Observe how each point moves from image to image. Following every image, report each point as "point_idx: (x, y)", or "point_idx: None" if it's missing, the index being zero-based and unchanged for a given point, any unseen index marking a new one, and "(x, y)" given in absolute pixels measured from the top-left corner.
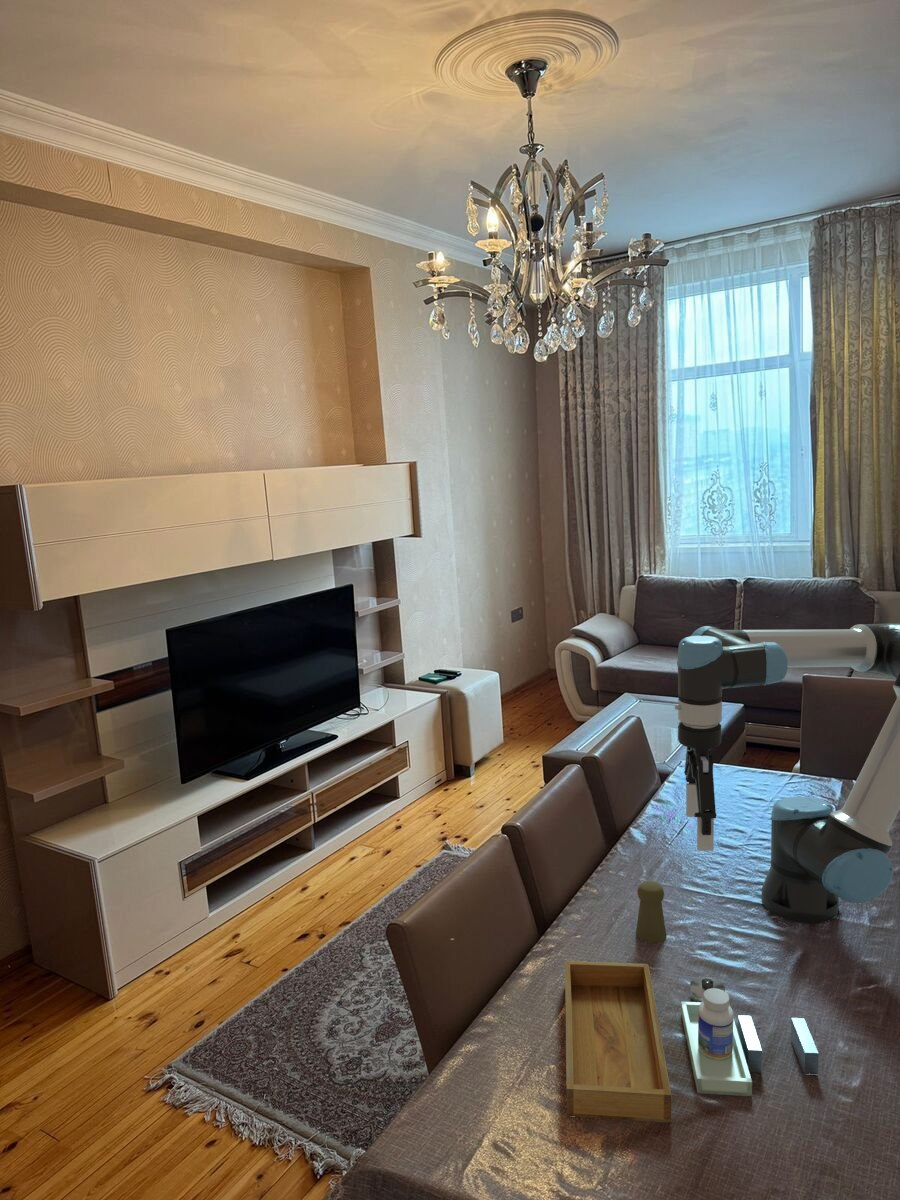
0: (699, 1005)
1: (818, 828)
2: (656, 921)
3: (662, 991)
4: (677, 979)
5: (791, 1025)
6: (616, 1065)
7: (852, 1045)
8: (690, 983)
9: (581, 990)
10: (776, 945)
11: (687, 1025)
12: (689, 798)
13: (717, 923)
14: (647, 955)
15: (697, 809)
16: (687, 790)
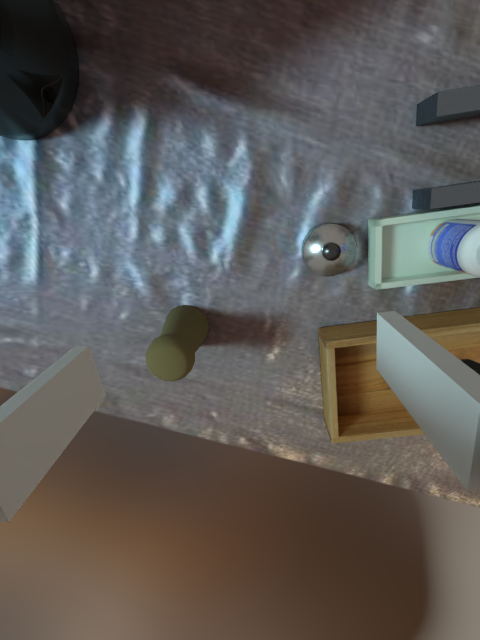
0: (477, 275)
1: None
2: (197, 330)
3: (319, 308)
4: (289, 289)
5: (431, 119)
6: (476, 359)
7: (428, 14)
8: (324, 275)
9: (341, 405)
10: (166, 124)
11: (427, 281)
12: (57, 441)
13: (127, 226)
14: (240, 329)
15: (76, 375)
16: (33, 486)
